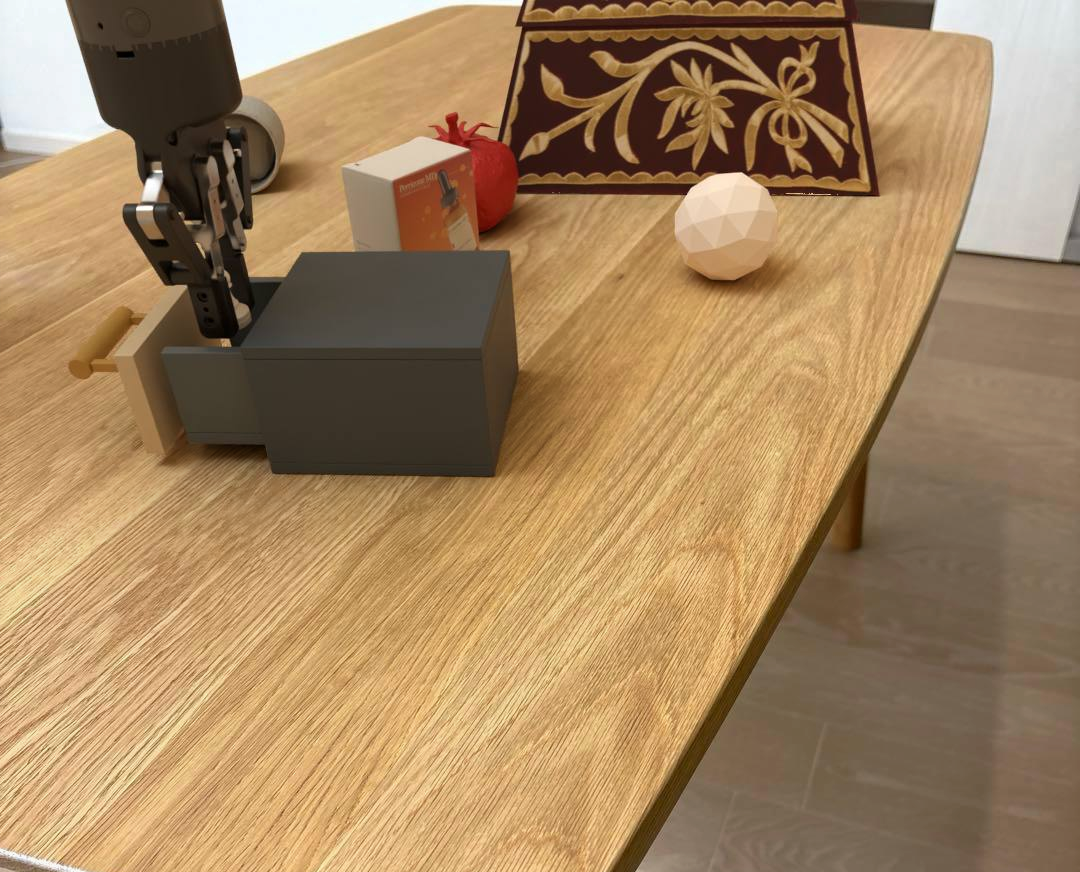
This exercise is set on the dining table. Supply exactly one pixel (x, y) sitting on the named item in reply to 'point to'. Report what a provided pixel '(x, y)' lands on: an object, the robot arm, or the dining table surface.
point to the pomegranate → (485, 170)
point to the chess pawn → (239, 308)
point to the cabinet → (386, 363)
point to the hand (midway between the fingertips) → (229, 322)
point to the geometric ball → (726, 226)
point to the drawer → (179, 371)
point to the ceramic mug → (260, 139)
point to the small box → (413, 198)
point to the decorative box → (688, 97)
